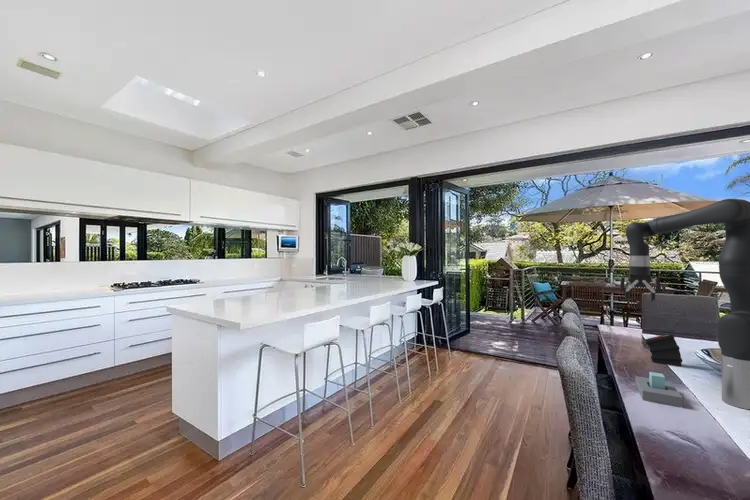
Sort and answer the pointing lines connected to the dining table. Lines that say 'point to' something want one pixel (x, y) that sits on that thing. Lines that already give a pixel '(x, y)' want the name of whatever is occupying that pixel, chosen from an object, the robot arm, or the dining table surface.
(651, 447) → the dining table surface
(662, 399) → the grey slotted block
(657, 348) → the black ridged block
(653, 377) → the teal rectangular block
